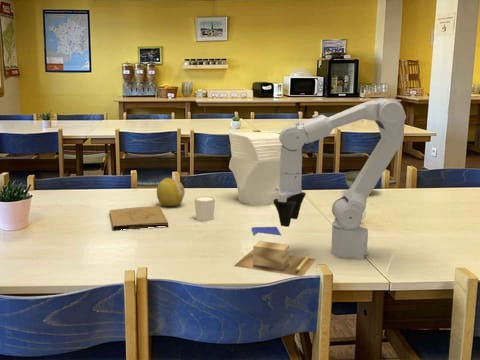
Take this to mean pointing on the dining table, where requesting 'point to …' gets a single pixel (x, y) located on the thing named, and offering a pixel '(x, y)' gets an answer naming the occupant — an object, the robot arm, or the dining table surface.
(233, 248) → the dining table surface
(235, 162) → the paper stack
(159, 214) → the box
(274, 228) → the hard drive
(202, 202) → the shot glass
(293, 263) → the board
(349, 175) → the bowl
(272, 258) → the block
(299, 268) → the pencil
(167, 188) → the fruit
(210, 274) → the dining table surface
